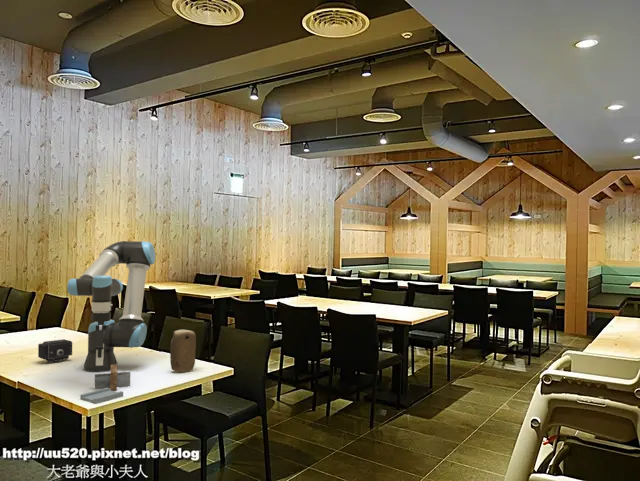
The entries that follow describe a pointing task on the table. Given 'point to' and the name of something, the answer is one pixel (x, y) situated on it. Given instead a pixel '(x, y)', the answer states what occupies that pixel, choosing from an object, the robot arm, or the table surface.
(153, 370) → the table surface
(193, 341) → the stone
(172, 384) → the table surface
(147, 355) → the table surface
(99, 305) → the robot arm
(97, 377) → the grey rectangular block
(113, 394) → the tray
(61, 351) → the camera
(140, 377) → the table surface
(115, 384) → the beam
